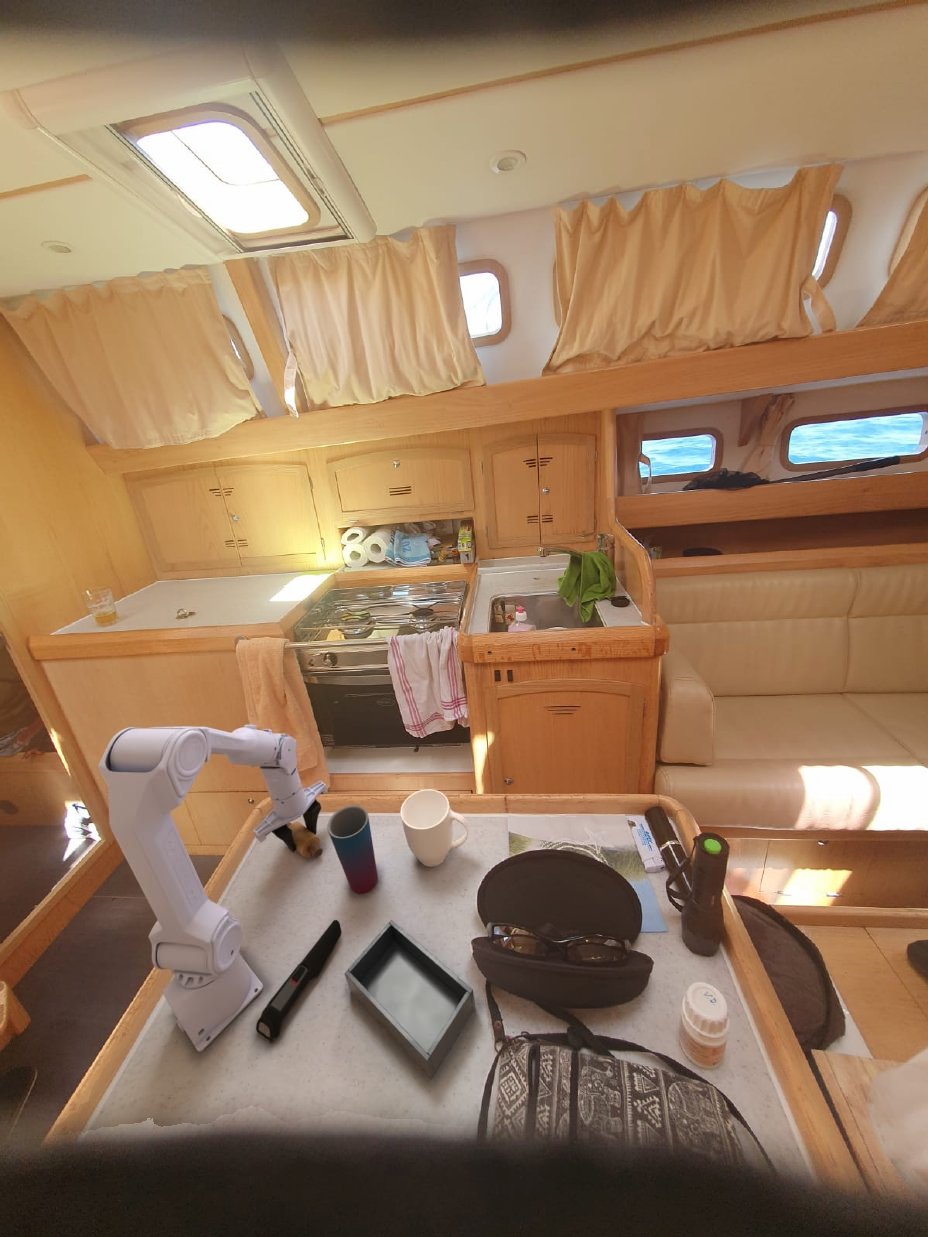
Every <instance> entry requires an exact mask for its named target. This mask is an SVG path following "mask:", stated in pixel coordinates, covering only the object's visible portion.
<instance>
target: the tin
mask: <svg viewBox="0 0 928 1237" xmlns="http://www.w3.org/2000/svg"><path fill="white" fill-rule="evenodd" d="M343 974H344V976H345V980H346V983H347V986H348V988H349V991H350V993H351V994H352V995H353V996H354V997H355V998H356V999H357V1000H358V1001H359V1002H360V1004H361V1005H362V1006H363V1007H364V1008H365V1009H366V1010H367V1011H368V1012H369V1014H371V1016H372V1017H373V1018H374V1019H375V1020H376V1022H378V1023H379V1024H380V1026H381V1027H383V1029H384V1030H385V1031H386V1032H387V1033H388V1034H389V1035H390V1036H391V1037H392V1038H393V1040H395V1042H396V1043H397V1044H398V1045H399V1046H400V1047H401V1048H402V1049H403V1050H404V1052H405V1053H406V1054H407V1056H409V1057H410V1058H411V1059H412V1061H414V1062H415V1063H416V1065H418V1067H419V1068H420V1069H421V1070H422V1071H423V1072H424V1073H425V1074H426V1075H427V1077H428V1078H429V1079H431V1080H432V1079H433V1078H434V1077H435V1075H436V1073H437V1072H438V1070H439V1069H440V1068H441V1065H442V1064H443V1062H444V1060H445V1059H446V1057H447V1056H448V1054H449V1052H450V1050H451V1049H452V1047H453V1046H454V1044H455V1042H456V1041H457V1040H458V1038H459V1036H460V1035H461V1033H462V1031H463V1030H464V1029H465V1026H466V1025H467V1024H468V1021H469V1020H470V1018H471V1017H472V1015H473V1014H474V1012H475V1010H476V1002H475V995H474V994H475V993H474V989H473V988H472V987H471V986H470V985H468V984H467V983H466V982H465V981H463V980H462V979H461V978H460V977H459V976H458V975H457V974H455V973H454V972H453V971H452V970H451V969H450V968H448V967H447V965H445V964H444V963H443V962H442V961H440V960H439V959H438V958H437V957H436V956H434V955H433V953H431V952H430V951H429V950H427V949H426V948H425V947H424V946H423V945H422V944H420V943H419V942H418V941H417V940H416V939H415V938H414V937H413V936H411V935H410V934H409V933H408V932H406V930H404V928H402V927H400V926H399V925H398V924H397V923H396V922H395V921H394V920H392V919H390V920H389V921H388V922H387V924H386V925H385V926H384V927H383V928H382V929H381V930H380V932H379V933H377V935H376V937H374V939H373V940H372V941H371V942H370V943H369V944H368V946H366V948H364V950H363V951H362V952H361V953H360V955H359V956H357V958H356V959H355V960H354V962H353V963H351V965H350V966H349V967H348V968H347V969H346V971H345V972H344V973H343Z"/></svg>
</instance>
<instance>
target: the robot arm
mask: <svg viewBox="0 0 928 1237" xmlns="http://www.w3.org/2000/svg"><path fill="white" fill-rule="evenodd" d="M257 728H258V725H255V724H244V726H243V727H239V728H236V729H234V730H232V732H229V731H224V730H220V729H217V728H212V727H208V726H184V725H183V726H182V725H181V726H153V727H151V726H150V727H147V728H142V727H137V726H130V727H126V728H123V729H121V730H120V731H118V732H117V733H116V734H115V735H114V736H112V737H111V739H110V740H109V742H108V744H107V746H106V748H105V750H104V752H103V755H102V757H101V759H100V761H99V763H98V766H97V769H98V772H99V773H100V775H101V777H102V779H103V781H104V783H105V785H106V787H107V798H108V799H107V800H108V823H109V828H110V830H111V832H112V834H113V836H114V838H115V840H116V842H117V844H118V846H119V848H120V850H121V852H122V854H123V856H124V858H125V860H126V861H127V863H128V865H129V867H130V869H131V871H132V873H133V875H134V877H135V879H136V881H137V882H138V885H139V887H140V889H141V890H142V892H143V894H144V896H145V898H146V900H147V902H148V904H149V906H150V908H151V910H152V912H153V914H154V915H155V917H156V919H157V920H156V922H155V923H154V925H153V927H152V928H151V930H150V932H149V934H148V937H147V938H148V940H149V941H150V945H151V962H152V965H153V967H154V968H155V969H156V970H159V971H160V970H161V971H163V970H170V972H171V973H172V975H174V976H173V977H172V979H171V980H170V981H169V982H168V983H167V984H166V986H164V987H163V989H162V990H161V992H162V994H163V996H164V998H165V1000H166V1002H167V1003H168V1005H169V1007H170V1009H171V1010H172V1012H173V1014H174V1015H175V1017H176V1018H177V1019H176V1020H175V1022H176V1024H177V1025H178V1028H179V1030H180V1031H181V1033H184V1032H185V1033H186V1034H187V1036H188V1038H189V1039H190V1041H191V1043H192V1044H193V1046H194V1047H195V1049H196V1051H197V1052H198V1053H201V1052H203V1051H204V1050H205V1049H206V1048H207V1047H208V1046H209V1045H210V1044H211V1043H212V1042H213V1041H214V1040H215V1039H216V1038H217V1037H218V1036H219V1035H220V1034H221V1033H222V1032H223V1030H225V1029H226V1027H228V1026H229V1025H230V1023H232V1021H234V1020H235V1019H236V1017H238V1015H239V1014H240V1013H242V1011H243V1010H245V1008H246V1007H247V1006H248V1005H249V1004H250V1003H252V1001H253V1000H254V999H255V998H256V997H257V996H258V995H259V994H260V993H261V992H262V991H263V989H264V985H263V983H262V981H261V980H260V978H258V976H257V975H256V973H255V972H254V971H253V970H252V968H251V967H250V966H249V964H248V963H247V962H246V961H245V959H244V957H243V956H242V955H241V953H240V950H241V947H242V944H243V938H244V937H243V935H244V934H243V926H242V923H241V921H240V919H237V918H234V917H232V914H231V913H230V911H229V909H228V908H225V907H224V906H222V905H220V904H218V903H216V902H214V901H212V900H210V899H209V898H208V896H207V892H206V891H205V889H204V886H203V884H202V882H201V880H200V878H199V875H198V872H197V870H196V868H195V866H194V864H193V861H192V859H191V857H190V854H189V853H188V850H187V848H186V846H185V843H184V841H183V838H182V837H181V835H180V832H179V830H178V828H177V825H176V823H175V821H174V818H173V817H172V814H171V811H173V810H175V809H177V808H178V807H180V806H181V805H182V804H183V802H184V800H185V799H186V797H187V796H188V794H189V792H190V790H191V788H192V786H193V784H194V783H195V781H196V780H197V777H198V776H199V774H200V772H201V770H202V769H203V766H204V764H205V763H207V762H209V761H210V759H211V755H223V756H224V757H225V759H226V761H227V762H229V763H231V764H232V765H238V766H239V765H240V766H250V767H251V768H255V767H259V770H260V772H261V775H262V779H263V781H264V784H265V787H266V789H267V792H268V795H269V798H270V800H271V803H272V806H273V809H271V811H270V812H269V813H268V815H267V816H266V817H265V818H264V819H263V821H262V822H260V823H259V825H258V826H256V827H255V828H254V829H252V832H253V835H254V837H255V839H256V840H257V841H259V842H260V843H263V842H264V841H266V839H267V836H269V834H271V833H272V834H273V835H275V836H276V837H277V838H278V839H280V840H281V841H282V842H284V845H286V847H287V848H288V849H289V851H291V852H292V853H294V854H295V852H296V851H297V850H296V845H295V843H294V841H293V836H292V830H291V829H290V828H289V827H287V823H289V822H290V823H292V822H293V821H296V820H298V819H300V818H301V817H303V821H304V824H305V825H304V826H305V827H306V828H307V829H309V830H310V831H311V832H312V833H314V834H315V835H316V836H317V833H318V832H317V827H318V819H319V816H320V813H321V810H322V805H321V803H320V802H319V801H318V800H317V798H318V797H319V796H321V795H325V794H327V793H328V792H329V789H328V787H327V784H326V783H324V782H323V781H322V780H319V781H317V782H316V783H314V784H312V785H310V786H308V787H306V788H304V787H303V785H302V781H301V777H300V775H299V774H300V773H299V771H298V768H297V766H298V757H297V748H298V744H297V743H298V742H297V739H296V738H294V737H292V736H291V735H290V734H289V733H274V732H273V730H272V729H270V728H263V729H262V730H260V729H257Z"/></svg>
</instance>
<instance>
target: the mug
mask: <svg viewBox="0 0 928 1237" xmlns="http://www.w3.org/2000/svg"><path fill="white" fill-rule="evenodd" d="M399 812H400V818H401V823H402V827H403V831H404V832H403V833H404V835H405V839H406V843H407V846H408V848H409V850H410V851H411V853H412V854H413V856H415V857H416V858H417V859H418V860H419V862H420V863H421V864H422V865H424V866H426V867H429V868H434V867H437V866H440V865H441V864H442V863H443V862H444V860H445V859H446V857H447V855H448V853H449V852H450V850H451V849H457V848H459V847H461V846H462V845H463V844H465V843H466V841H467V839H468V834H469V825H468V822H467V820H466V819H465V817H464V816H462V815H461V814H460V813H458V812H455V811H453V810H452V809H451V807H450V802H449V799H448V797H447V796H446V795H445V794H444V793H443V792H441V791H439V790H436V789H430V788H428V789H427V788H425V789H420V790H418V791H415V792H413V793H412V794H410V795H409V796H408V797H407V798H406V799H405V800H403V803H402V805H401V807H400V811H399ZM453 821H456V822H457V823H459V824H461V825H462V826H463V827H464V828H465V831H466V832H465V834H464V835H463V836H462V837H460V838H458V839H456V840H454V826H453Z"/></svg>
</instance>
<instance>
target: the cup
mask: <svg viewBox="0 0 928 1237" xmlns="http://www.w3.org/2000/svg"><path fill="white" fill-rule="evenodd" d="M326 828H327V832H328V835H329V838H330V840H331V842H332V845H333V847H334V850H335V853H336V855H337V857H338V860H339V862H340V866H341V868H342V870H343V872H344V875H345V877H346V880H347V883H348V886H349V888H350V890H351V892H353V893H354V894H356V895H365V894H367V893H369V892H371V891H372V890H374V888H375V887H376V885H377V883H378V881H379V875H378V868H377V863H376V862H377V861H376V856H375V850H374V842H373V837H372V831H371V825H370V819H369V813H368V811H367V809H366V808H364V807H363V806H361V805H355V804H353V805H347V806H344V807H341V808H339V809H338V810H336V812H334V813H333V814H332V815H331V816H330V818H329V819H328V822H327V827H326Z"/></svg>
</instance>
